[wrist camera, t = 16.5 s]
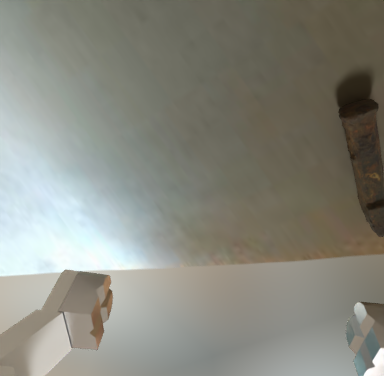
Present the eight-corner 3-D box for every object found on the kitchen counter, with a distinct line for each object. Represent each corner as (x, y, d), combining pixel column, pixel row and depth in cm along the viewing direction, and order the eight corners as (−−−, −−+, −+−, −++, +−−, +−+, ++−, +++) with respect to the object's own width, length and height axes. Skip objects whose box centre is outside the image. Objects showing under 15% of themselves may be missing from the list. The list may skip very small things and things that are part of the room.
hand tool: (333, 105, 40) (345, 119, 36) (369, 94, 39) (386, 107, 35) (351, 226, 49) (362, 248, 45) (381, 220, 48) (395, 242, 44)
